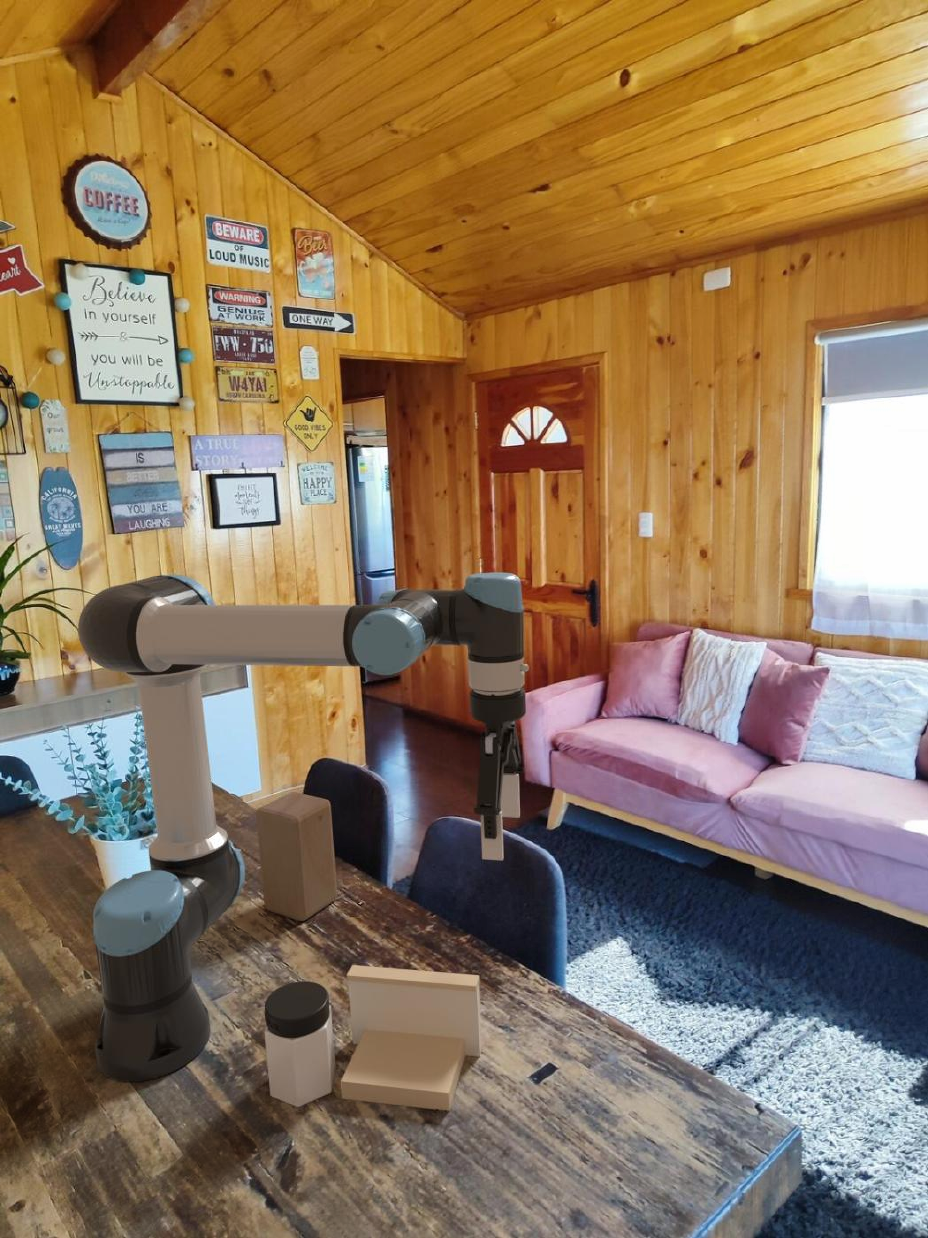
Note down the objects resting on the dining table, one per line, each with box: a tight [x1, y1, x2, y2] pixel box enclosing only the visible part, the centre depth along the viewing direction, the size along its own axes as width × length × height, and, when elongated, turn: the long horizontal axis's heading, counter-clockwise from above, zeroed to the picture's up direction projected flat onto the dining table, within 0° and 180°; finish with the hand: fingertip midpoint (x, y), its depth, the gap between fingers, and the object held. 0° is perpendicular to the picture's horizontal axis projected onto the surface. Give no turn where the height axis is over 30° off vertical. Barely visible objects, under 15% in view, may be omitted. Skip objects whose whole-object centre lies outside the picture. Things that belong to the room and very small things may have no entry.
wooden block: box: [255, 791, 338, 922], centre depth 151 cm, size 10×10×20 cm
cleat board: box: [340, 964, 483, 1112], centre depth 108 cm, size 18×12×11 cm, turn 79°
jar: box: [264, 980, 336, 1108], centre depth 106 cm, size 9×8×12 cm
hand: (502, 836), depth 114 cm, fingers open, 13 cm apart
